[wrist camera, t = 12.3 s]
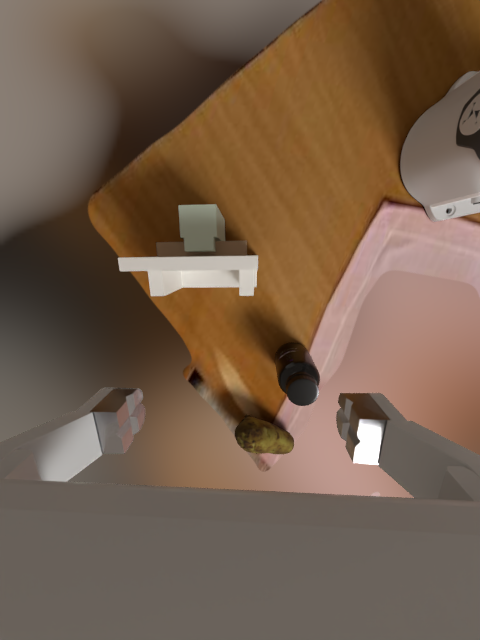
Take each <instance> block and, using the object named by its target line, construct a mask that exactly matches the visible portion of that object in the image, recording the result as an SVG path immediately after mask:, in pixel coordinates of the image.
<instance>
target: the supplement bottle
mask: <svg viewBox="0 0 480 640" xmlns="http://www.w3.org/2000/svg"><path fill="white" fill-rule="evenodd" d="M275 364H276V371H277V378H278V383H279V386H280V388H281V389H282V391H283V392H285V393H286V394H287V396H288V398H289V400H290V401H291V402H293V403H294V404H296V405H299V406H306V405H309V404H311V403H313V402H314V401H316V399H317V397H318V394H319V389H318V385H319V382H320V376H319V372H318V370H317V368H316V366H315V364H314V362H313V360H312V358H311V356H310V354H309V352H308V350H307V349H306V348H305V347H304V346H303V345H301V344H299V343H287V344H284V345H282V346H281V347H280V348H279V349H278V350H277V352H276V355H275Z"/></svg>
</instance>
